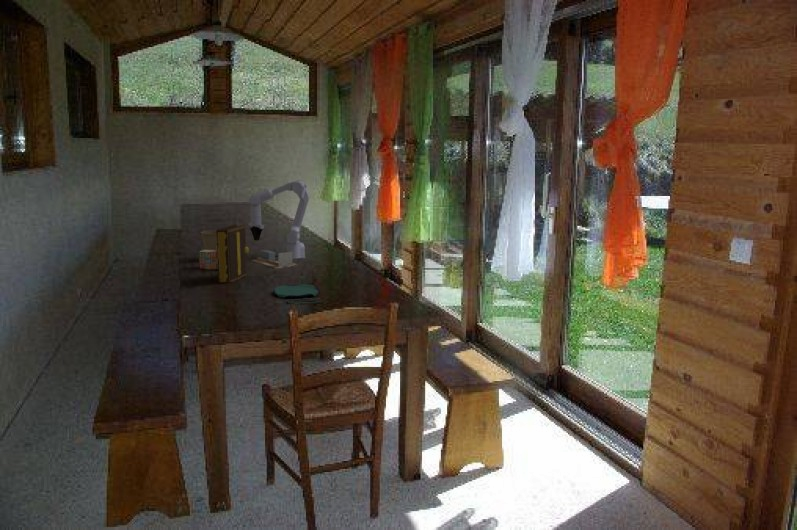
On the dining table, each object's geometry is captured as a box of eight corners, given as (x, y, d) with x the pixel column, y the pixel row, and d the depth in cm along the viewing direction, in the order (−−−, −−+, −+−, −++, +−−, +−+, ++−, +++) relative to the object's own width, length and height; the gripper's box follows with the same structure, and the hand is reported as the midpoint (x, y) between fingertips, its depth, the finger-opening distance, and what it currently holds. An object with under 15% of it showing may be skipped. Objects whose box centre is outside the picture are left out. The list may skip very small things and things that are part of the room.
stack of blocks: (199, 269, 330) (198, 245, 328) (204, 266, 337) (202, 243, 334) (239, 270, 328) (238, 246, 326) (243, 268, 335) (242, 244, 332)
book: (231, 283, 298) (229, 230, 293) (214, 282, 299) (212, 229, 295) (251, 274, 319) (250, 224, 314) (235, 273, 321) (233, 223, 316)
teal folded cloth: (314, 287, 292) (314, 282, 292) (327, 304, 264) (327, 299, 264) (270, 290, 287) (270, 285, 286) (278, 308, 259) (278, 302, 258)
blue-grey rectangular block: (266, 258, 357) (265, 249, 356) (274, 261, 350) (274, 252, 349) (260, 259, 355) (260, 250, 354) (269, 261, 347) (268, 252, 346)
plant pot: (225, 263, 347) (224, 234, 344) (198, 262, 347) (196, 233, 344) (233, 258, 361) (232, 230, 358) (207, 257, 362) (205, 229, 359)
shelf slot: (273, 258, 361) (273, 245, 360) (297, 265, 342) (297, 251, 340) (250, 261, 352) (250, 247, 351) (274, 268, 333) (273, 254, 331)
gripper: (243, 215, 360) (244, 239, 362) (255, 217, 349) (256, 242, 351) (254, 214, 364) (255, 238, 367) (267, 217, 353) (267, 241, 356)
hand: (256, 240), depth 359 cm, fingers closed
